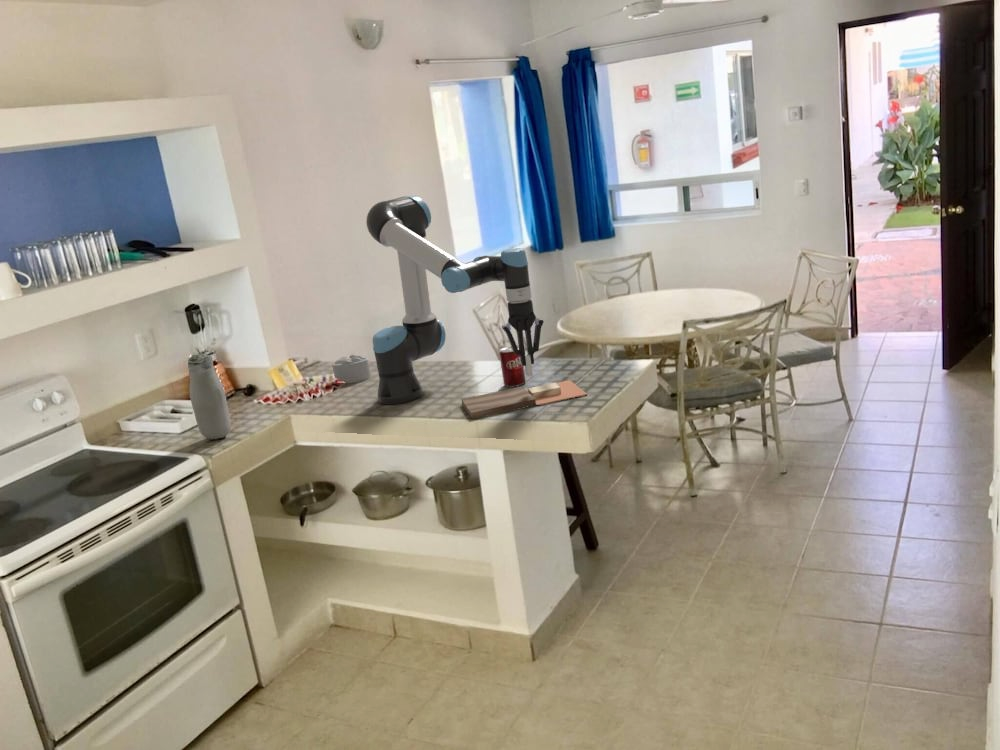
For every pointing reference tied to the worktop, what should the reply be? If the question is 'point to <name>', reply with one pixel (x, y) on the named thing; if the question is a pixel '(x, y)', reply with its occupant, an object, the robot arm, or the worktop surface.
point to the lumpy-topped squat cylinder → (352, 369)
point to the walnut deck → (498, 402)
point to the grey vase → (208, 398)
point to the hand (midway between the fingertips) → (529, 374)
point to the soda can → (511, 367)
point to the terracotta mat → (562, 393)
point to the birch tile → (545, 390)
